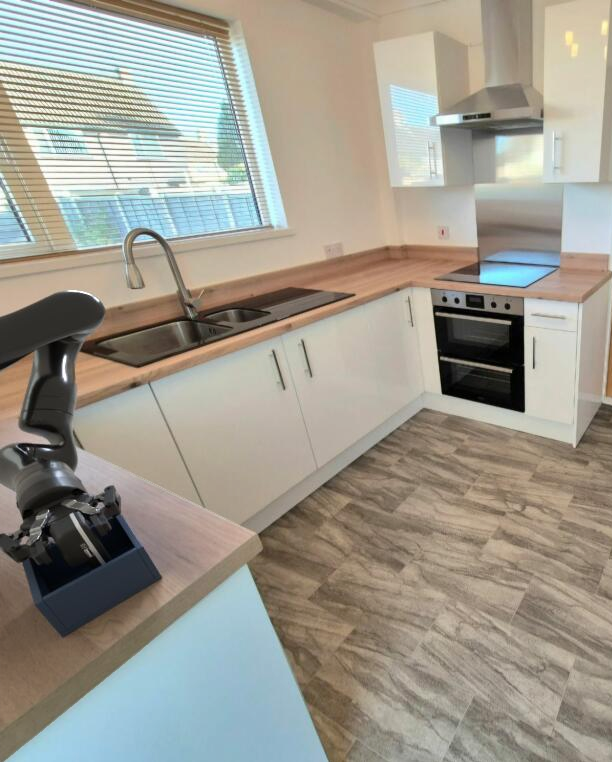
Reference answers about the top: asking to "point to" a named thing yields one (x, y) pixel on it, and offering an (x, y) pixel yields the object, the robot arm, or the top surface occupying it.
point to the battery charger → (78, 542)
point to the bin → (90, 579)
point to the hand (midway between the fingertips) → (75, 544)
